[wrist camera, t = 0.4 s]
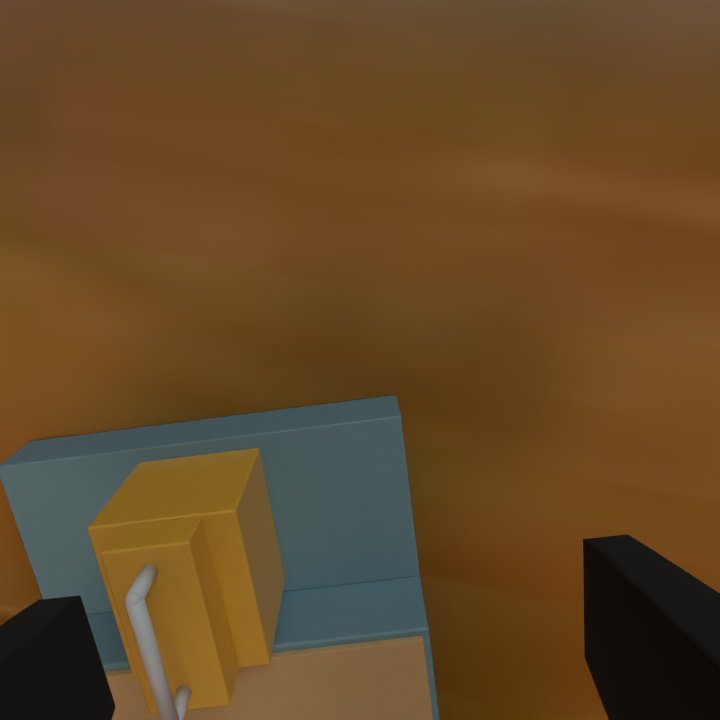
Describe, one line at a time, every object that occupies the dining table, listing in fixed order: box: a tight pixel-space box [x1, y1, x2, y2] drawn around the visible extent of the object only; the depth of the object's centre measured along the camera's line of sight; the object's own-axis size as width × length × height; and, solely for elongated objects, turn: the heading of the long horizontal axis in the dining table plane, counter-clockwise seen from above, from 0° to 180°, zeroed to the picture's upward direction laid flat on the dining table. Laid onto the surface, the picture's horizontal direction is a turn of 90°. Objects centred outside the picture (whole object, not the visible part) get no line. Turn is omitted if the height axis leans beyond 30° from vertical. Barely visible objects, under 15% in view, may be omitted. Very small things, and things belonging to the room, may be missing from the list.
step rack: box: [0, 395, 440, 720], centre depth 18 cm, size 18×12×6 cm, turn 8°
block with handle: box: [88, 448, 285, 720], centre depth 14 cm, size 5×4×6 cm
